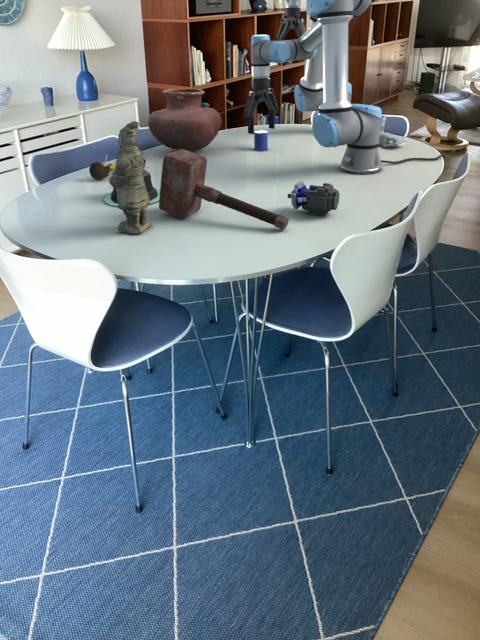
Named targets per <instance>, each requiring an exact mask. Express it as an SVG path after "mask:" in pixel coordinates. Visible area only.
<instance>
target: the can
mask: <svg viewBox="0 0 480 640" xmlns="http://www.w3.org/2000/svg"><path fill="white" fill-rule="evenodd" d="M268 133H269V132H268V130H254V134H253V149H254V151H256V152H266V151H268V149H269V148H268V142H269V140H268V139H269V137H268V135H269V134H268Z"/></svg>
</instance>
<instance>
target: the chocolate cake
mask: <svg viewBox="0 0 480 640" xmlns="http://www.w3.org/2000/svg"><path fill="white" fill-rule="evenodd" d="M113 175H114V171H112V173H111V176H113ZM143 178H144V182H145V184H146V188H147V192H148V195H149V197H150V204H154V203H157V202H159V198H160V188H156V187H154V185H153V182H152V174H151V172H149V171H148V170H146V169H144V168H143ZM103 200H104V202H105V203H106V204H108V205H109V206H115V207H118V202H117V192H116V189H115V188H114V187H112V191H111V193H108V194H107V195H106V196H104V198H103ZM150 204H149V205H150Z"/></svg>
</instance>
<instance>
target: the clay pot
mask: <svg viewBox="0 0 480 640" xmlns="http://www.w3.org/2000/svg"><path fill="white" fill-rule="evenodd" d="M205 92H206V91H204V90H202V89H199V88H193V87H191V88H189V87H187V88H172V89H163V90H162V92H161V93H162V94H163V95H165V97H166V99H167V105H166V107H165V108H163V109H159V110H155V111H153V112H151V113H150V114H149V116H148V117H147V119H148V120H147V127H148V129H149V131H150V133H151V135H152V136H153V137H154V138H155V139H156V140H157V142H159V143H160V144H161V145H163V146H165V147H166V148H169V149H171V150H174V151H177V150H179V149H184V150H187V151H190V152H192V153H194V152H197V151H201V150H202V149H204V148H206V147H207V146H209V145H210V144H211V143H212V142H213V141H214V139H215V138H216V137H217V136H218V133H219V131H220V129H221V127H222V122H223V120H222V116H221V114H220V113H219V112H218V111H217V110H216V109H215V108H212V107H202V99H203V96H204V94H205Z"/></svg>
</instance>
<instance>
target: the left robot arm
mask: <svg viewBox="0 0 480 640" xmlns="http://www.w3.org/2000/svg"><path fill="white" fill-rule="evenodd" d="M305 4H306V6H305V10H306V14H307V16H308V17H309V21H310V22H311V26H312V25H313V24H314V23H315V22H316V21H317V13H316V12H314V11H313V10H312V7H311V6H310V1H309V0H306V3H305ZM284 6H285V9H284V16H285V18H281V20H280V25H279V28H278V32H277V34H276V40H278V41H283V40H285V39H286V37H287V35H288V34H289V31H290V30H294V31H295V33H296V35H297V37H298V39H299V38H300V37H301V36H302V35H303V34H304V33H305V32H306V31H307V28H306V25H305V24H306V23H305V18H300V16H301V11H302V10H301V7H302V0H284ZM293 92H294V93H293V95H294V96H293V97H294V102H295V106H296V109H297V110H298V111H299V112H302V113H304V112H305V113H309V112H319V107H320V106H321V105H322V103H323V56H322V44H321V45H320V46H319V47H318V48H317V52H316V54H315V56H314V57H313V58H312V59H308V60H306V63H305V69H304V76H303V77H301V78H300V81H299V84H296V85H295V86H294V91H293ZM352 94H353V93H352V83H350V82H349V81H348V101H349V102H350V103H351V104H352Z"/></svg>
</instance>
